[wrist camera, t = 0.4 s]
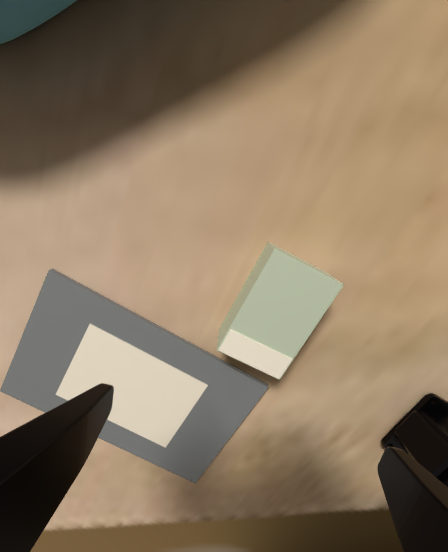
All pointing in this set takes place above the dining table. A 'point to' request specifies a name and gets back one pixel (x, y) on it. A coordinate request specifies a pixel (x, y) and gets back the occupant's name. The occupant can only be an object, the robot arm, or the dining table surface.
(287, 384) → the dining table surface
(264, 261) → the sage block
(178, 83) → the dining table surface
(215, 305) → the dining table surface
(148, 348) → the placemat
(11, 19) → the casserole dish
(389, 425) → the dining table surface
